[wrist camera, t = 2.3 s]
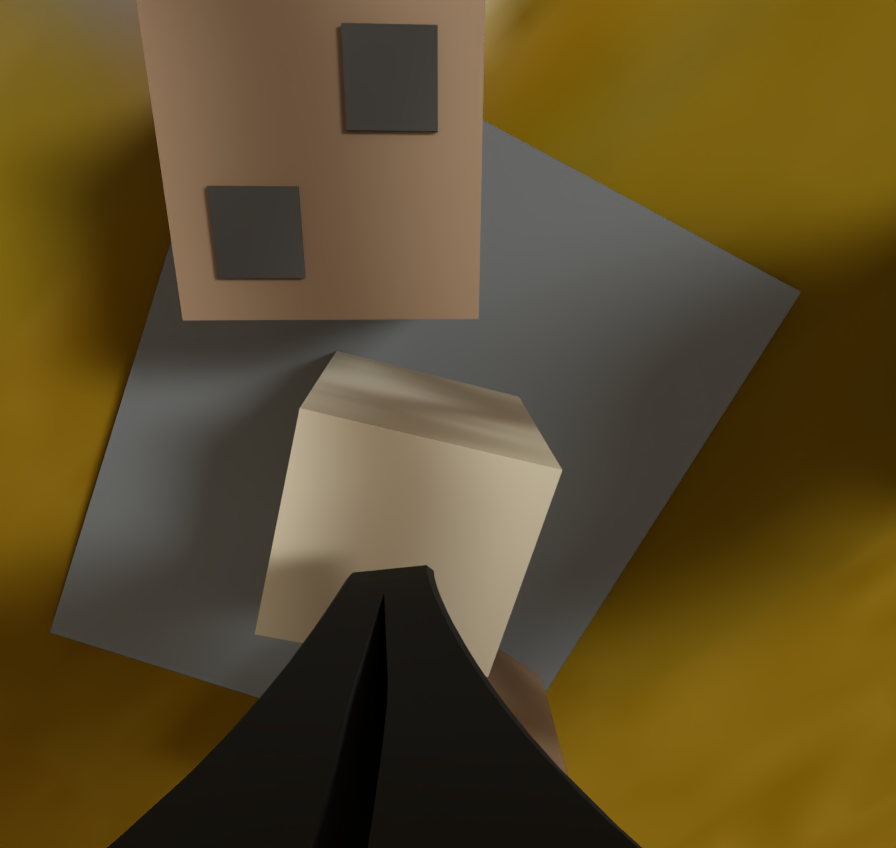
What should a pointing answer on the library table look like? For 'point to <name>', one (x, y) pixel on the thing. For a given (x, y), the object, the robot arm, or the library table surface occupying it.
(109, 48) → the library table surface
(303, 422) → the plain block
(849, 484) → the library table surface
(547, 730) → the pip block one
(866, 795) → the library table surface
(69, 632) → the felt mat
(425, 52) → the pip block two
